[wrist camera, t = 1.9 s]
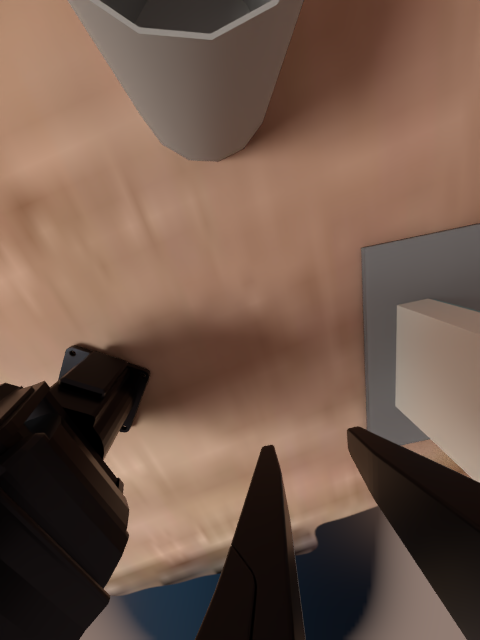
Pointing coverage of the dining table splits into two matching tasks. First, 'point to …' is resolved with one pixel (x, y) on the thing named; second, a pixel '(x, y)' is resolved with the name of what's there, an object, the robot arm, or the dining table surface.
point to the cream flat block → (441, 376)
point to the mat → (403, 287)
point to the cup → (195, 65)
